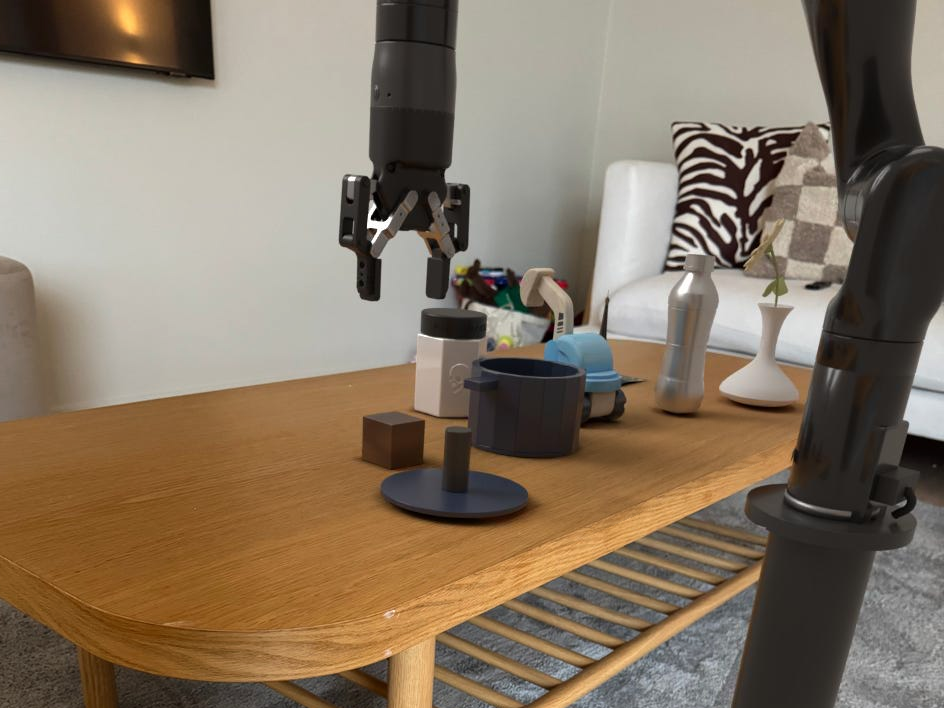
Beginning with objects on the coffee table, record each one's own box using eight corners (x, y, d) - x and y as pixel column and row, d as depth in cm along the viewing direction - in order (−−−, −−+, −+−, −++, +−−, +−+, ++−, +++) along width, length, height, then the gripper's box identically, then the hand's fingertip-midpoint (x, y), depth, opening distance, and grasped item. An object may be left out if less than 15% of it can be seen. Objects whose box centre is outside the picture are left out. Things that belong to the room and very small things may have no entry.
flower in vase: (742, 392, 147) (775, 216, 137) (810, 407, 140) (852, 222, 130) (695, 401, 139) (727, 213, 128) (766, 417, 132) (806, 220, 121)
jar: (421, 418, 117) (426, 316, 112) (407, 403, 124) (411, 306, 119) (491, 418, 120) (499, 318, 114) (472, 404, 127) (479, 308, 121)
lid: (557, 506, 89) (565, 436, 86) (454, 535, 80) (459, 457, 77) (454, 471, 97) (458, 406, 94) (349, 493, 88) (350, 422, 85)
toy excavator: (544, 397, 134) (557, 266, 127) (629, 424, 122) (650, 281, 115) (496, 401, 129) (507, 265, 122) (580, 430, 117) (598, 281, 110)
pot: (612, 444, 112) (623, 370, 108) (510, 467, 100) (517, 384, 96) (531, 422, 119) (538, 352, 116) (426, 440, 107) (430, 363, 104)
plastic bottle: (682, 420, 127) (709, 258, 118) (641, 409, 131) (664, 252, 122) (710, 415, 131) (738, 258, 122) (669, 405, 135) (694, 252, 126)
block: (423, 463, 99) (425, 419, 97) (390, 469, 96) (392, 425, 94) (394, 453, 102) (395, 410, 100) (361, 459, 99) (362, 415, 97)
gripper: (379, 97, 78) (372, 307, 85) (498, 116, 87) (482, 303, 94) (322, 97, 82) (320, 296, 89) (440, 114, 92) (430, 293, 99)
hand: (403, 299), depth 92 cm, fingers open, 8 cm apart
